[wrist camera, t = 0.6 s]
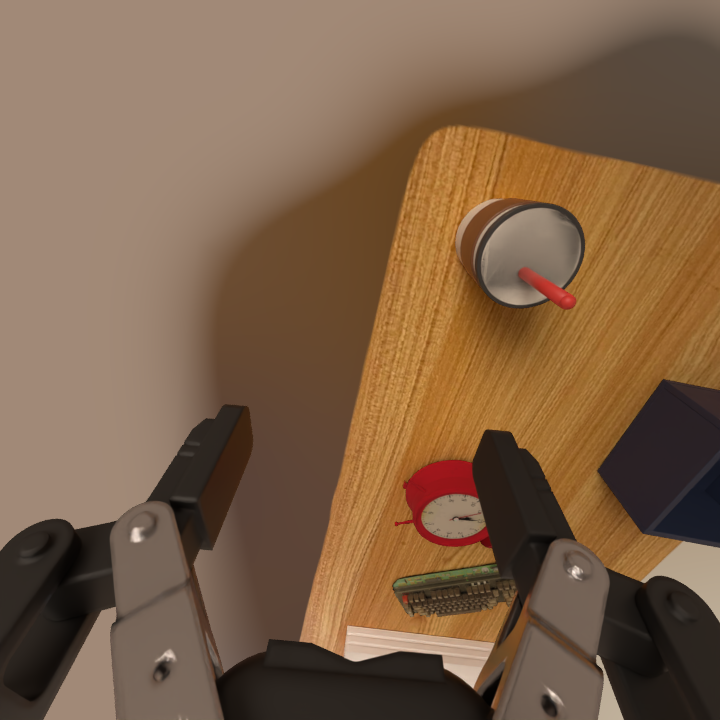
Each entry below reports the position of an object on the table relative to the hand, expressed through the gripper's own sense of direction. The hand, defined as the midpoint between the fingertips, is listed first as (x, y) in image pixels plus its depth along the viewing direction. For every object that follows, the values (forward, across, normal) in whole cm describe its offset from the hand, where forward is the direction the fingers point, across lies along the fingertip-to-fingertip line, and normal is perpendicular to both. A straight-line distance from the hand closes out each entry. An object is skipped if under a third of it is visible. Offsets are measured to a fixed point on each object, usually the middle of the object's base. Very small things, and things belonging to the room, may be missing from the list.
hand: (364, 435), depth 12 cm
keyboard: (+16, -19, +44) cm, 51 cm away
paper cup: (+20, -9, -2) cm, 22 cm away
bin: (+18, -34, +15) cm, 41 cm away
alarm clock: (+18, -14, +26) cm, 34 cm away
